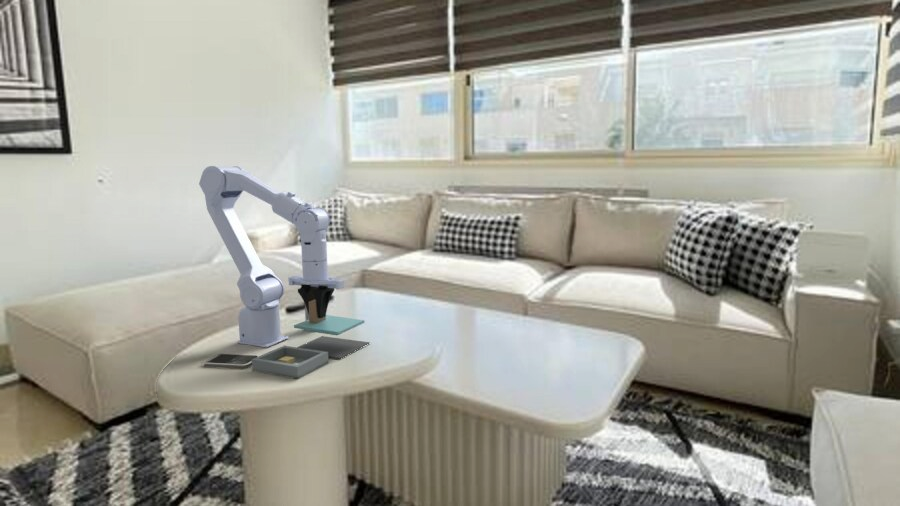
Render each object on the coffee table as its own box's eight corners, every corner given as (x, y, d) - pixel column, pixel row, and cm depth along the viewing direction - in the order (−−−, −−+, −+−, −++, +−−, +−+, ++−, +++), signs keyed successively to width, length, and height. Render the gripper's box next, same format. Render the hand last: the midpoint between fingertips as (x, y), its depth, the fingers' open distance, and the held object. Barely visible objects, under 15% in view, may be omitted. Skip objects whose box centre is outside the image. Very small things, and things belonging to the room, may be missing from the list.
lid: (294, 331, 126) (293, 304, 125) (322, 319, 136) (321, 294, 135) (338, 338, 121) (338, 310, 120) (364, 325, 131) (364, 299, 130)
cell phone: (246, 371, 116) (246, 364, 115) (199, 368, 118) (198, 362, 117) (261, 361, 122) (261, 355, 122) (216, 359, 124) (215, 353, 123)
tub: (252, 370, 115) (251, 359, 114) (284, 356, 124) (284, 345, 123) (298, 378, 110) (297, 366, 109) (328, 363, 119) (328, 352, 118)
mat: (290, 351, 127) (290, 350, 127) (322, 337, 138) (322, 336, 137) (340, 359, 121) (340, 357, 121) (369, 344, 132) (369, 342, 132)
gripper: (278, 261, 127) (281, 317, 129) (329, 264, 121) (332, 323, 123) (298, 256, 133) (301, 311, 135) (348, 259, 128) (350, 316, 129)
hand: (317, 316), depth 130 cm, fingers closed on lid
